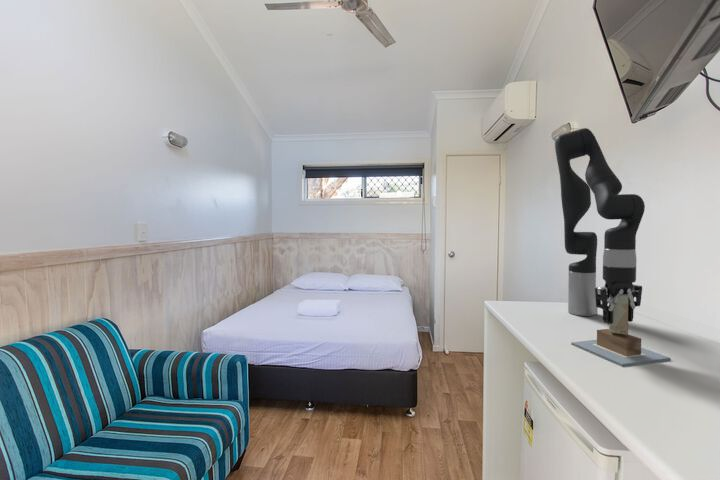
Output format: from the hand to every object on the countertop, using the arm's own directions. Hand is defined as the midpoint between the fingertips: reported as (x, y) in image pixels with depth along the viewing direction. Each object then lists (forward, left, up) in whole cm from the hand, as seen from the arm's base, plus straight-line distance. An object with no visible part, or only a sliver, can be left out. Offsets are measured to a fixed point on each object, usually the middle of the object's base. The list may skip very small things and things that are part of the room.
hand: (618, 321), depth 95 cm
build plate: (0, 0, -9) cm, 9 cm away
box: (0, 0, -3) cm, 3 cm away
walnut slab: (0, 0, -8) cm, 8 cm away
